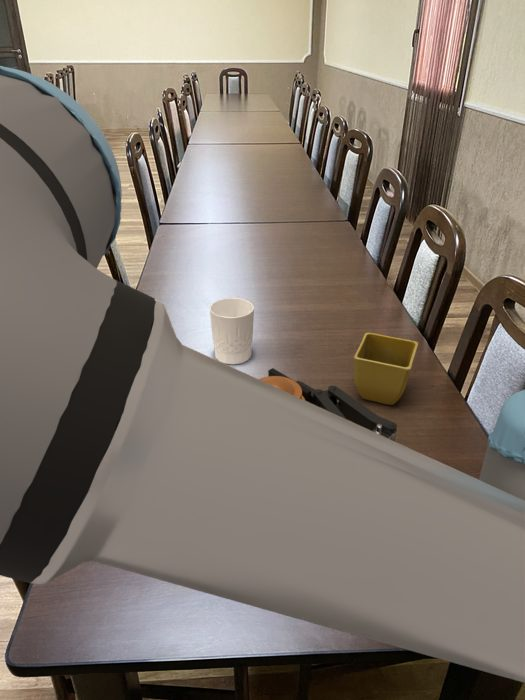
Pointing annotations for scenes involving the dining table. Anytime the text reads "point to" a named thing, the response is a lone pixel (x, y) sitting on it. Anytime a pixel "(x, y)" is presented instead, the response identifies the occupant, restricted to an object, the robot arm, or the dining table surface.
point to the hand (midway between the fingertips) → (246, 390)
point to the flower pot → (383, 367)
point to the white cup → (232, 329)
